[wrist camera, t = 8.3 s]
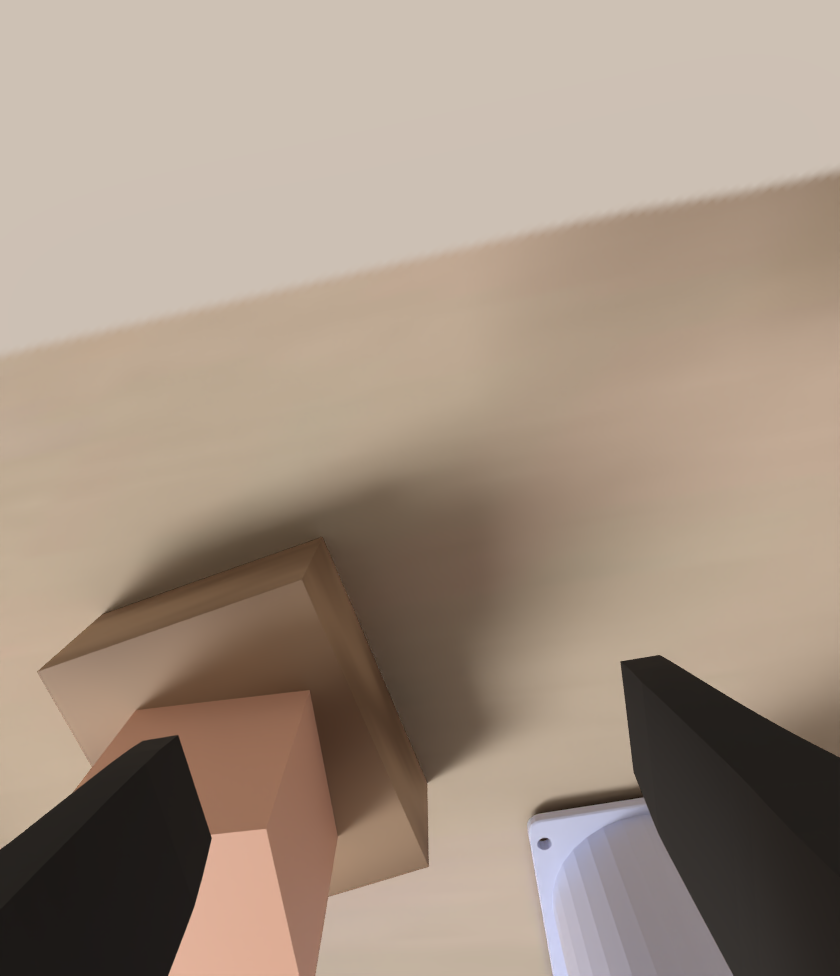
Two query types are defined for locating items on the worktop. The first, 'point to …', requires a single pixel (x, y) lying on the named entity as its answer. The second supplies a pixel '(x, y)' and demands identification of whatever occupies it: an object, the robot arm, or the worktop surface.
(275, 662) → the walnut block
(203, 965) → the terracotta cube
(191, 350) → the worktop surface
